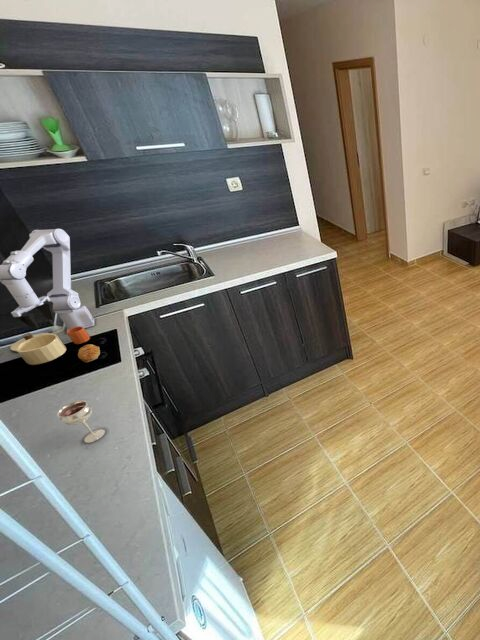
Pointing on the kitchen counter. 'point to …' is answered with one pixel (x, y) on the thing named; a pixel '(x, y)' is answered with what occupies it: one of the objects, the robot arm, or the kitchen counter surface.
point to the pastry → (88, 353)
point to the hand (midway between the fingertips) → (43, 323)
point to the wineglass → (79, 418)
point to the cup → (78, 335)
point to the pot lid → (25, 337)
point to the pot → (41, 349)
